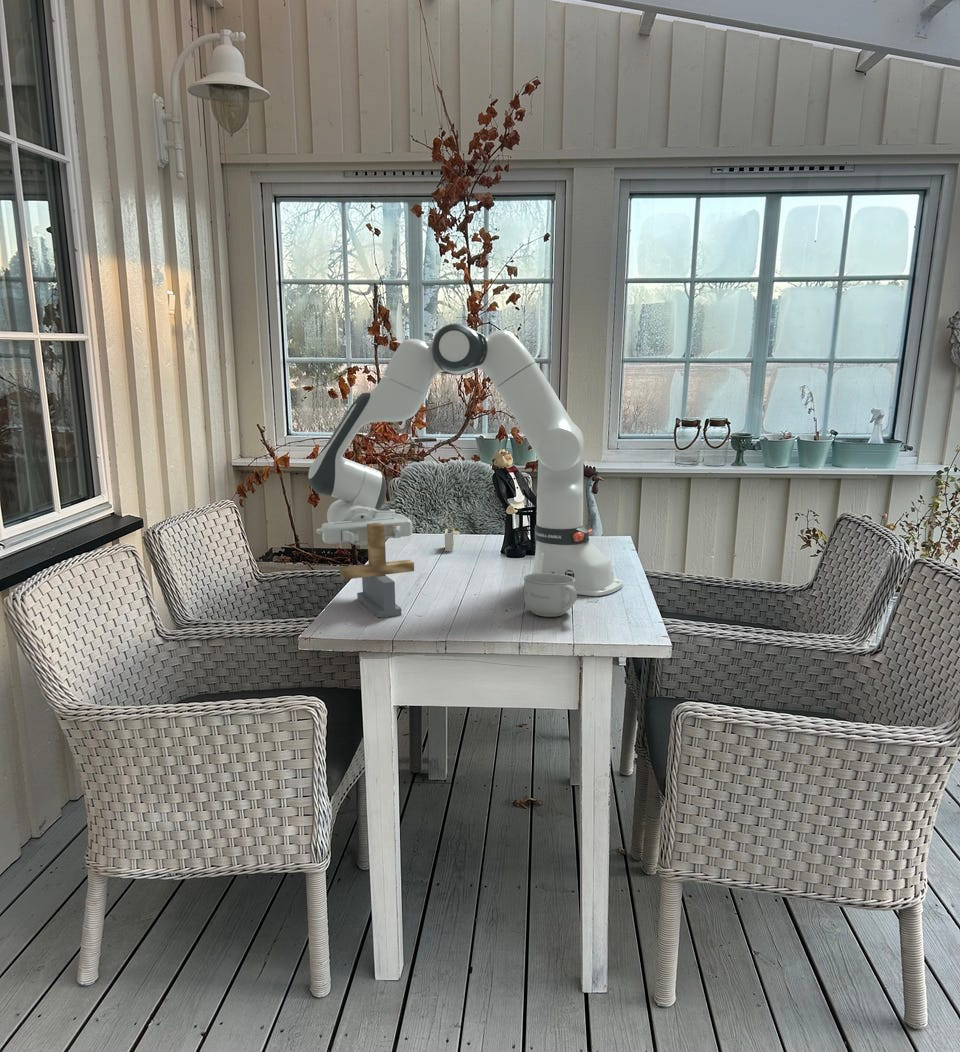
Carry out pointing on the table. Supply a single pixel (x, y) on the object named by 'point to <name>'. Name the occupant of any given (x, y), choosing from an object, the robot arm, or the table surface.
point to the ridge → (379, 595)
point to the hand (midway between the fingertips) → (377, 536)
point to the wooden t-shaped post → (376, 558)
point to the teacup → (549, 593)
